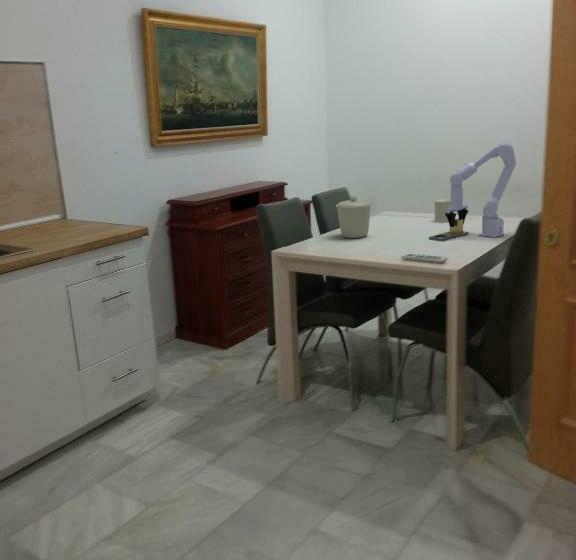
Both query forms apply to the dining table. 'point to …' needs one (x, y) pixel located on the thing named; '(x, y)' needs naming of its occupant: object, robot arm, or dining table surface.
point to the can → (441, 210)
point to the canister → (354, 217)
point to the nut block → (457, 227)
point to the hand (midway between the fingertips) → (456, 225)
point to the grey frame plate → (446, 236)
